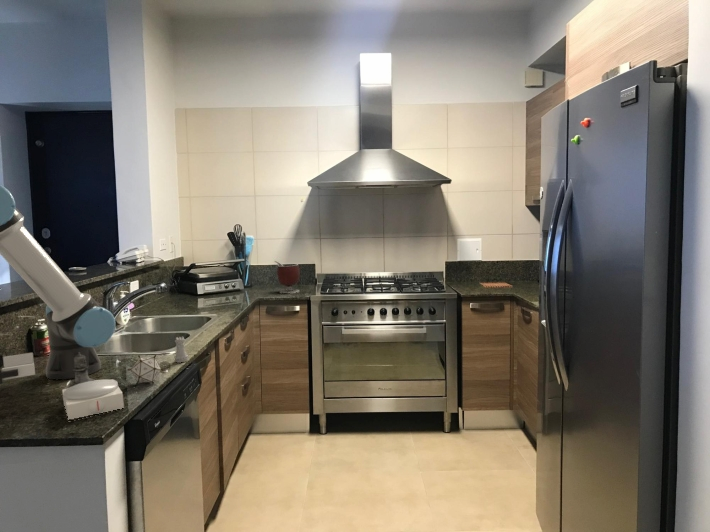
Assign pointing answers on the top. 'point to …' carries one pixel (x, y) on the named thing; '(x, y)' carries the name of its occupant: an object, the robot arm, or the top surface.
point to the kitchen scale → (92, 398)
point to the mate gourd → (288, 276)
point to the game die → (145, 369)
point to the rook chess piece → (180, 350)
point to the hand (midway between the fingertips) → (34, 362)
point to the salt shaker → (80, 370)
